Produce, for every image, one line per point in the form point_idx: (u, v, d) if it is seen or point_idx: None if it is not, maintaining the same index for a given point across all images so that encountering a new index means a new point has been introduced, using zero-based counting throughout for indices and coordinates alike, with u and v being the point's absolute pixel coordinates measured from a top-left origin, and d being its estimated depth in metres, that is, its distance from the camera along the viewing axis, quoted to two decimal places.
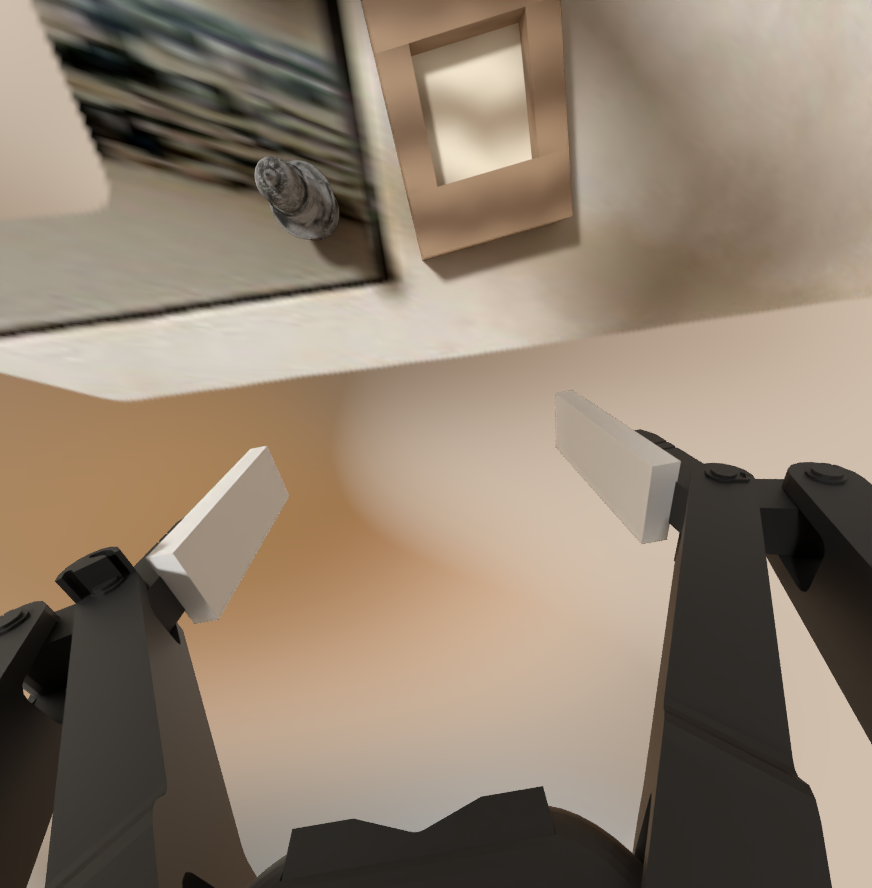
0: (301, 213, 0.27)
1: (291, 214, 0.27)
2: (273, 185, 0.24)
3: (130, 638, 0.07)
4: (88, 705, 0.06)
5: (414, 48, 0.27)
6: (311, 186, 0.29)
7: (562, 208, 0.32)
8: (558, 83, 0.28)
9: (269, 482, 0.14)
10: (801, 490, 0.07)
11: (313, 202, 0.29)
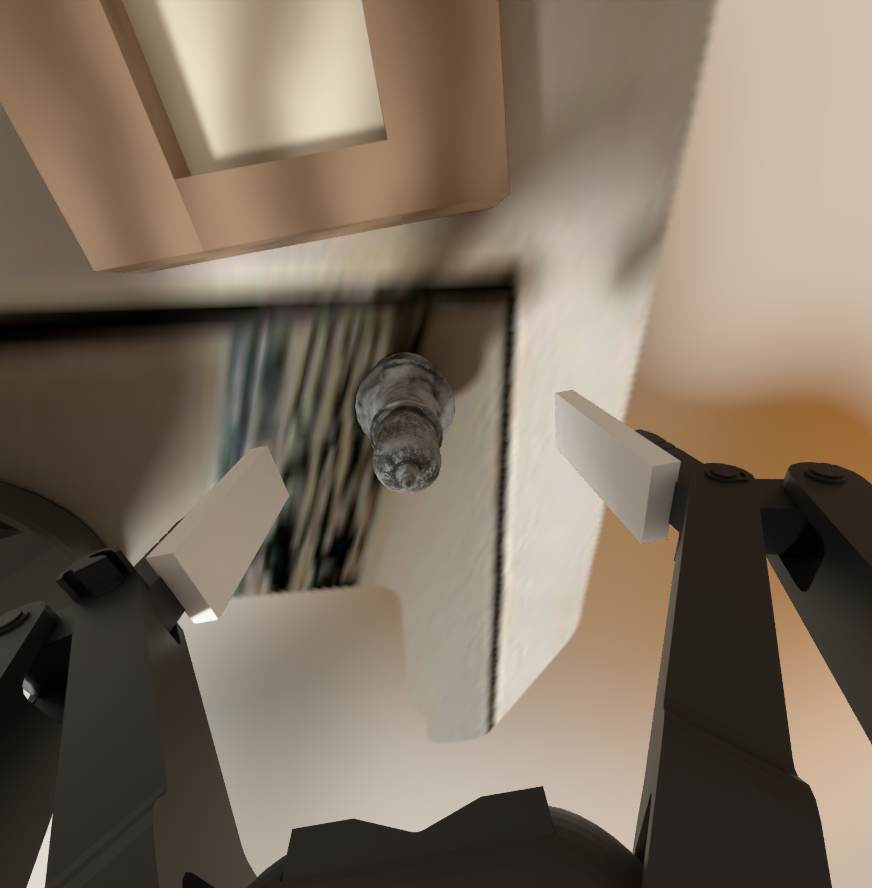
0: (438, 421, 0.16)
1: (439, 437, 0.16)
2: (419, 471, 0.13)
3: (129, 639, 0.07)
4: (88, 705, 0.06)
5: (180, 171, 0.15)
6: (392, 393, 0.18)
7: None
8: None
9: (269, 482, 0.14)
10: (801, 490, 0.07)
11: (415, 396, 0.17)
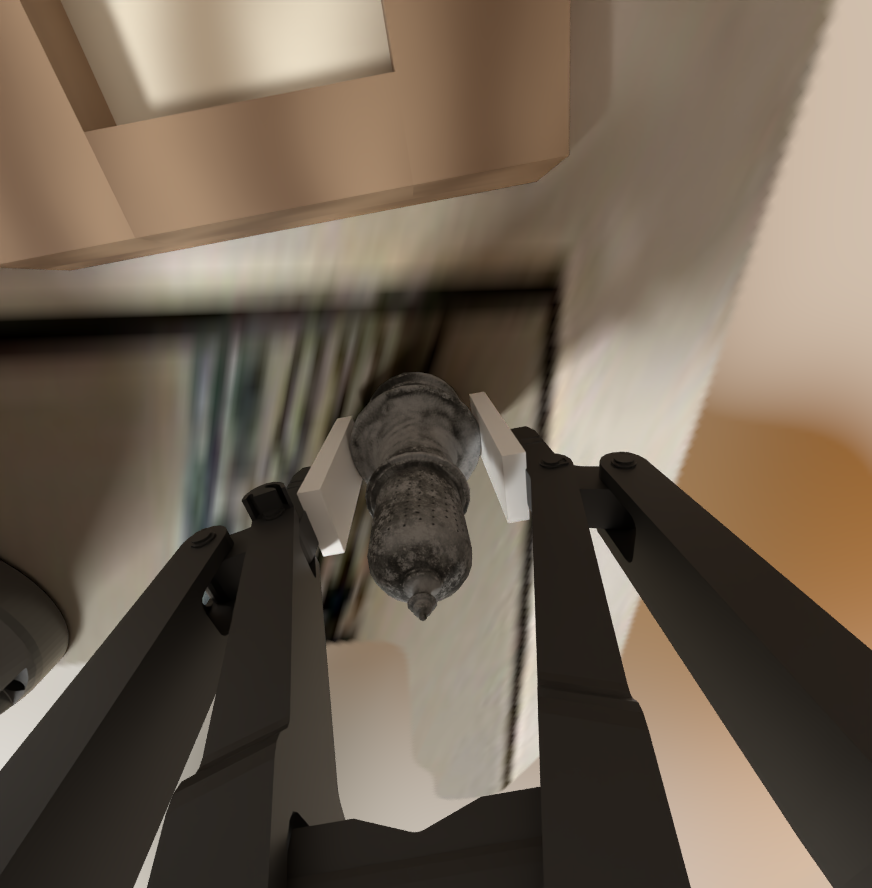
0: (464, 480, 0.11)
1: (465, 502, 0.12)
2: (440, 581, 0.08)
3: (282, 565, 0.08)
4: (248, 613, 0.07)
5: (98, 122, 0.11)
6: (398, 434, 0.13)
7: None
8: None
9: None
10: (611, 478, 0.09)
11: (429, 439, 0.13)
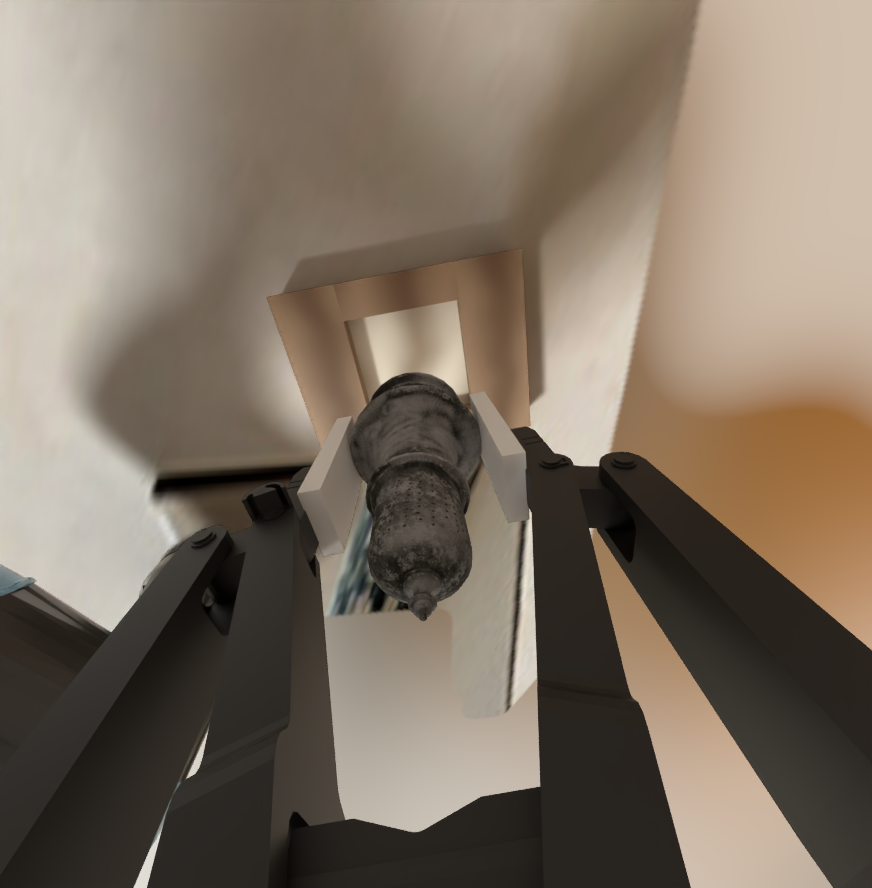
0: (464, 481, 0.11)
1: (465, 502, 0.12)
2: (440, 582, 0.08)
3: (281, 566, 0.08)
4: (248, 613, 0.07)
5: None
6: (398, 434, 0.13)
7: (511, 263, 0.26)
8: (398, 280, 0.26)
9: None
10: (611, 478, 0.09)
11: (430, 440, 0.13)
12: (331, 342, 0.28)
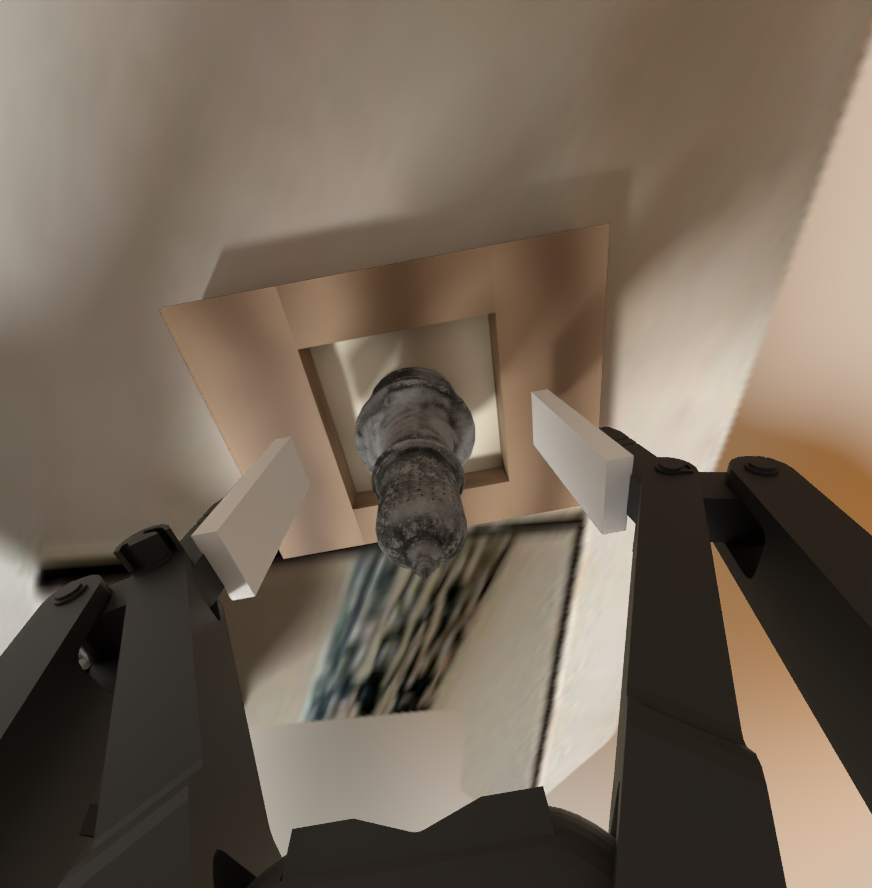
0: (460, 464, 0.13)
1: (460, 484, 0.13)
2: (439, 548, 0.10)
3: (175, 613, 0.07)
4: (137, 673, 0.06)
5: (352, 494, 0.20)
6: (399, 424, 0.14)
7: (589, 251, 0.15)
8: (390, 278, 0.15)
9: (293, 471, 0.15)
10: (741, 483, 0.08)
11: (428, 428, 0.14)
12: (279, 383, 0.16)
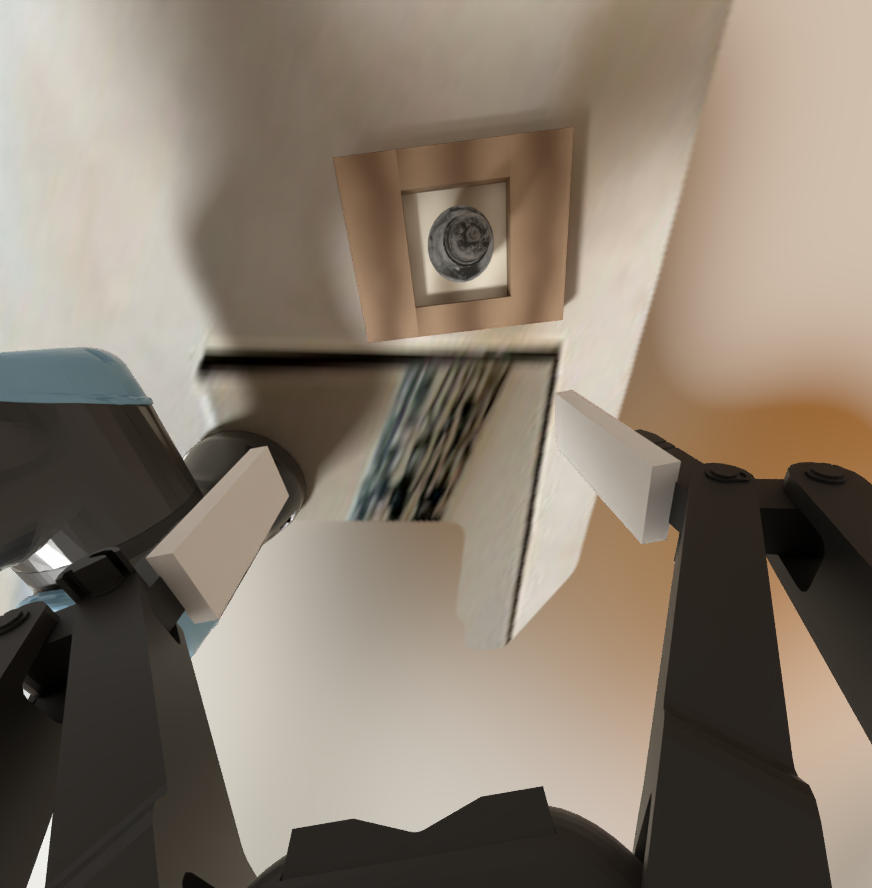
0: None
1: None
2: (479, 233, 0.22)
3: (129, 639, 0.07)
4: (88, 705, 0.06)
5: None
6: None
7: (562, 142, 0.28)
8: (456, 150, 0.28)
9: (269, 482, 0.14)
10: (801, 490, 0.07)
11: None
12: (387, 211, 0.29)
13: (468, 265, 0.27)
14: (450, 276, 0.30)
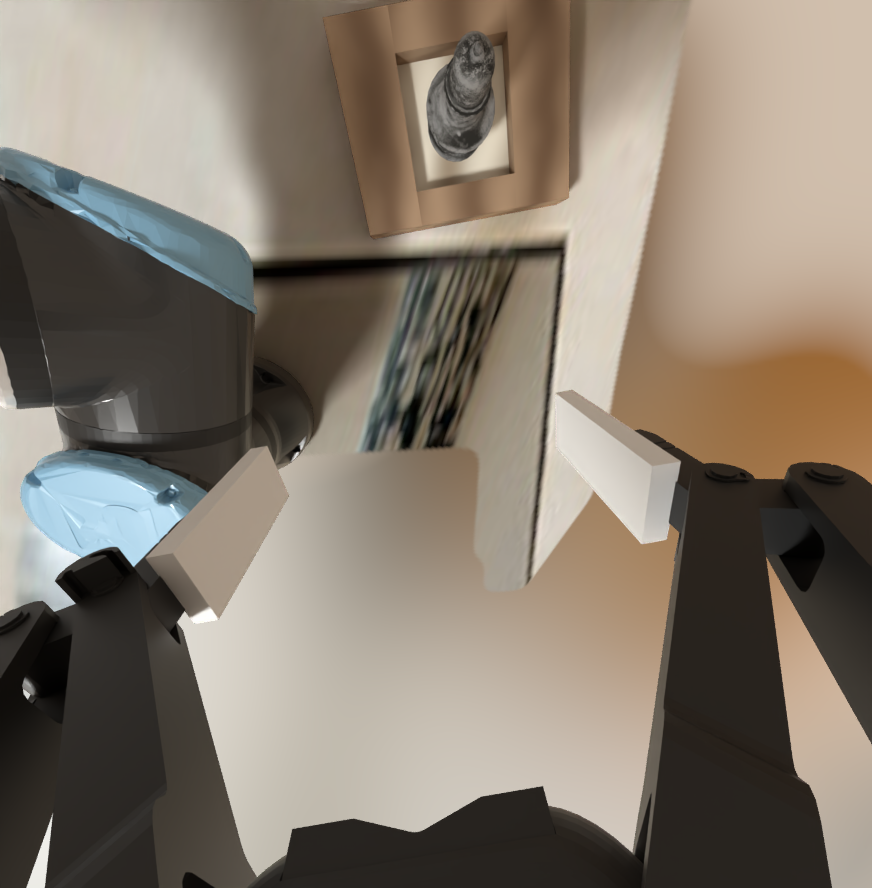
0: None
1: (489, 86, 0.25)
2: (483, 52, 0.21)
3: (129, 639, 0.07)
4: (88, 705, 0.06)
5: None
6: None
7: None
8: (450, 2, 0.27)
9: (269, 482, 0.14)
10: (801, 490, 0.07)
11: None
12: (382, 79, 0.28)
13: (471, 114, 0.25)
14: (452, 145, 0.29)
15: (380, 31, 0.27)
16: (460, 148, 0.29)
